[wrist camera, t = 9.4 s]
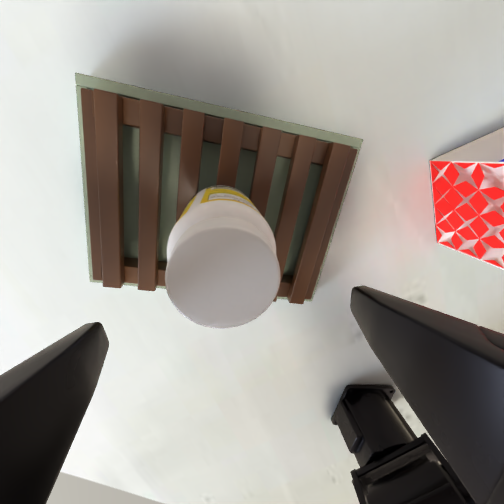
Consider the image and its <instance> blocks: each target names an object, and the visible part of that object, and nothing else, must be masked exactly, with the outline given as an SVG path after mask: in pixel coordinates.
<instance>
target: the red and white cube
mask: <svg viewBox="0 0 504 504" xmlns="http://www.w3.org/2000/svg"><path fill="white" fill-rule="evenodd" d="M430 172H431V182H432V192H433V202H434V212H435V223H436V235H437V243H438V244H440V245H443V246H445V247H448V248H450V249H453V250H455V251H458V252H460V253H463V254H465V255H468V256H470V257H473V258H476V259H478V260H481V261H483V262H486V263H488V264H491V265H493V266H496V267H498V268H501V269H503V270H504V127H503V128H501V129H499V130H497V131H494V132H492V133H490V134H488V135H486V136H483V137H481V138H479V139H477V140H474V141H472V142H470V143H468V144H466V145H463V146H461V147H459V148H457V149H454V150H452V151H450V152H448V153H446V154H443V155H441V156H439V157H437V158H434V159H432V160H430Z"/></svg>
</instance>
